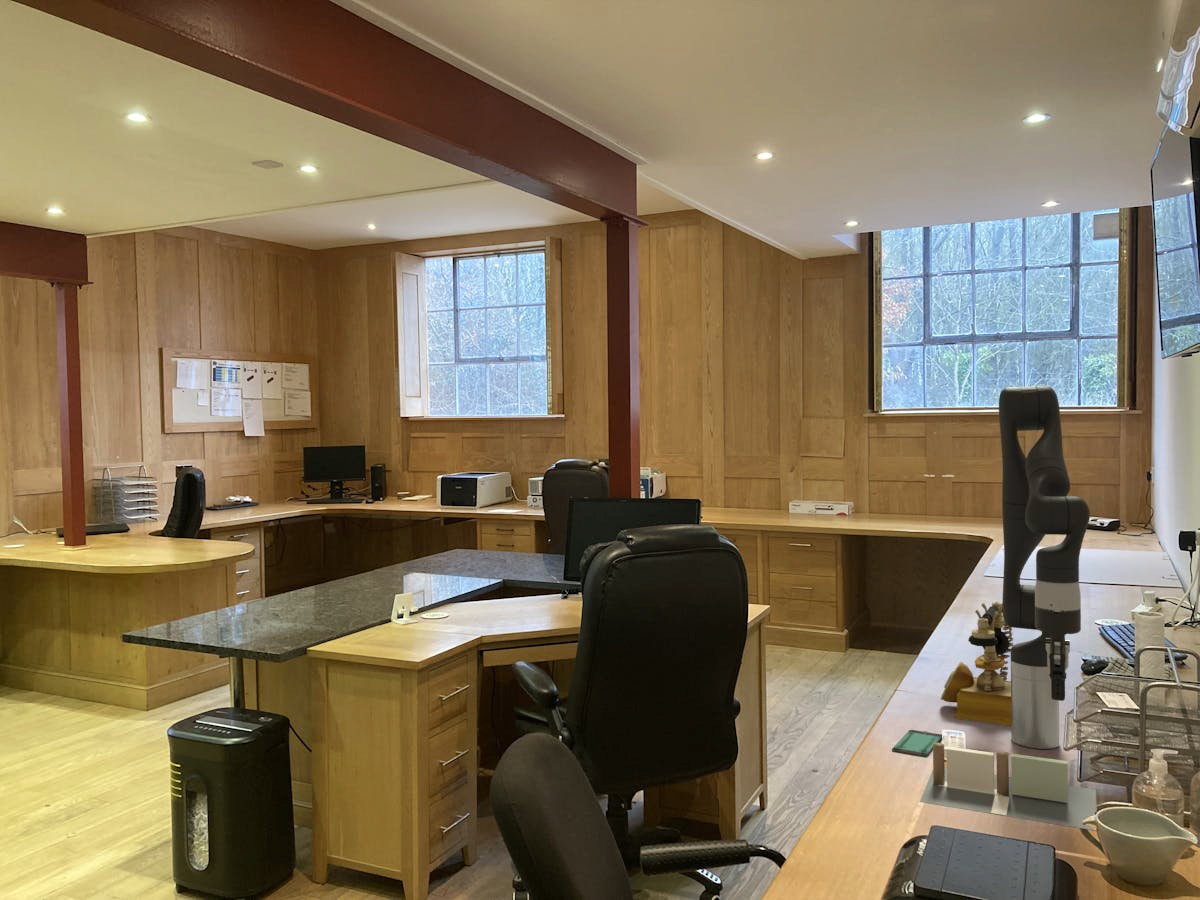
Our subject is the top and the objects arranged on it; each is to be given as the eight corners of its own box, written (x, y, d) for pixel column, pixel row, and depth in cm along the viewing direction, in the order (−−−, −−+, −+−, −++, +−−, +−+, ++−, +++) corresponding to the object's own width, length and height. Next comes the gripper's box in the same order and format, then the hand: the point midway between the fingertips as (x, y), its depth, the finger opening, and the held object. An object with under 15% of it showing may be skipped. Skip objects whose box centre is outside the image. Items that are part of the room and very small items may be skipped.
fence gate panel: (1011, 794, 165) (1011, 756, 165) (1012, 791, 166) (1011, 753, 166) (1067, 802, 161) (1067, 763, 161) (1067, 799, 162) (1067, 761, 162)
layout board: (934, 767, 180) (934, 765, 180) (1095, 791, 167) (1095, 788, 167) (919, 803, 164) (919, 800, 164) (1097, 833, 151) (1097, 830, 151)
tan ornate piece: (958, 683, 238) (957, 588, 238) (1032, 692, 229) (1031, 593, 228) (929, 722, 208) (928, 613, 207) (1014, 734, 199) (1013, 620, 198)
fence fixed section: (934, 780, 173) (933, 742, 173) (1009, 792, 167) (1008, 752, 167) (932, 784, 171) (932, 745, 171) (1008, 796, 165) (1008, 755, 165)
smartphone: (943, 733, 198) (927, 754, 185) (943, 739, 198) (927, 760, 185) (909, 728, 202) (890, 748, 189) (909, 733, 202) (890, 754, 189)
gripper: (1036, 597, 175) (1037, 686, 176) (1033, 610, 163) (1034, 706, 164) (1080, 599, 172) (1081, 691, 172) (1080, 613, 160) (1081, 711, 160)
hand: (1058, 698), depth 168 cm, fingers closed
